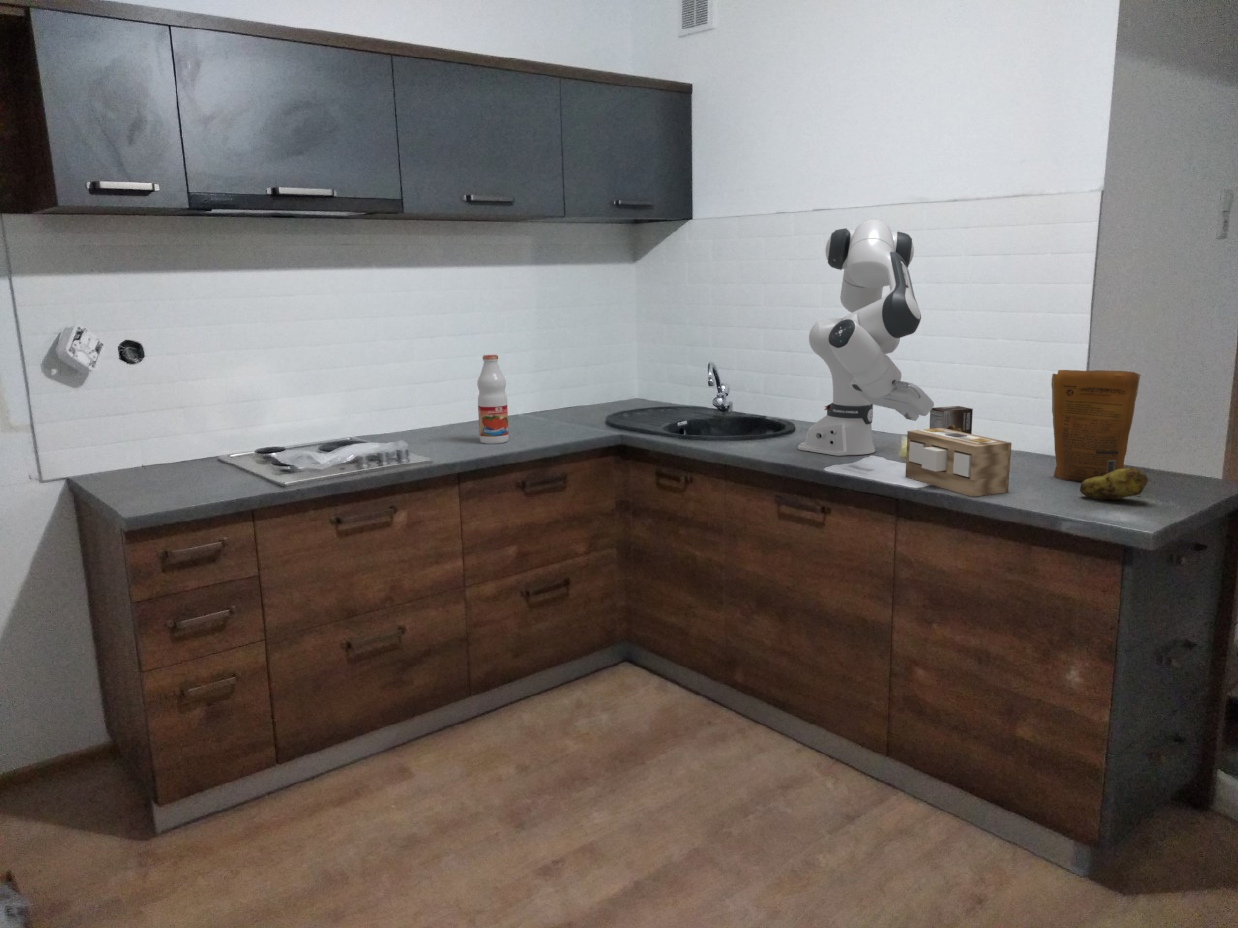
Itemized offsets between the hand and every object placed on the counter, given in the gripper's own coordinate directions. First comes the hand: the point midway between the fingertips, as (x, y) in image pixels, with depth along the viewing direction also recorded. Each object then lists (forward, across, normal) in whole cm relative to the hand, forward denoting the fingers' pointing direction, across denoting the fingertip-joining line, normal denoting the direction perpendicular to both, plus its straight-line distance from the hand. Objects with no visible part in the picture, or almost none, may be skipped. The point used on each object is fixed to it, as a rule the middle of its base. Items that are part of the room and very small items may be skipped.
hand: (913, 417), depth 212 cm
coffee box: (+36, +22, -8) cm, 43 cm away
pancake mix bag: (+48, -7, -21) cm, 53 cm away
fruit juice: (-35, +117, +64) cm, 138 cm away
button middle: (+20, +5, 0) cm, 21 cm away
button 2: (+22, -3, -2) cm, 22 cm away
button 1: (+22, +13, -2) cm, 26 cm away
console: (+26, +5, +1) cm, 27 cm away
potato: (+41, -23, -14) cm, 49 cm away
